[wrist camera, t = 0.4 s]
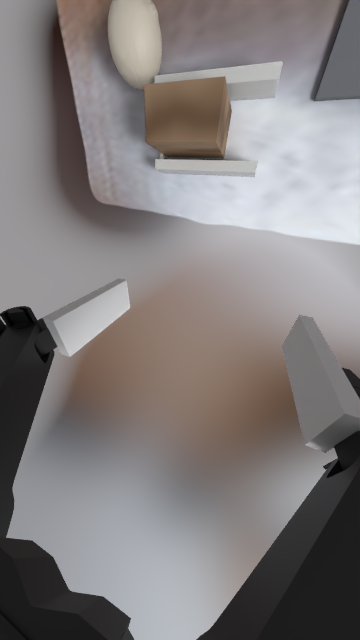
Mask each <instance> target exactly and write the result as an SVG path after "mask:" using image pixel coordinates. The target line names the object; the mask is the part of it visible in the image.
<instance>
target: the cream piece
mask: <svg viewBox="0 0 360 640" xmlns="http://www.w3.org/2000/svg"><path fill="white" fill-rule="evenodd" d="M108 40H109V46H110V50H111V54H112V58H113V60H114V63H115V65H116V67H117V69H118V71H119V73H120V74H121V76H122V77H123V78H124V80H125V81H126V82H127V83H128V84H130V85H131V86H132V87H134V88H136V89H140V90H144V84H153V83H154V82H155V76H156V75H158V73H159V70H160V65H161V59H162V38H161V31H160V26H159V22H158V12H157V10H156V7H155V5H154V4H153V2H152V1H151V0H112V3H111V6H110V10H109V15H108Z"/></svg>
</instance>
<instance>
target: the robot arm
mask: <svg viewBox="0 0 360 640" xmlns="http://www.w3.org/2000/svg"><path fill="white" fill-rule="evenodd" d="M128 309H130V303H129V295H128V288H127V281H126V280H124V279H117V280H115V281H113V282H111V283H109V284H107V285H105V286H103V287H102V288H99V289H98V290H96V291H94V292H92V293H90V294H88V295H86V296H84V297H82V298H80V299H78V300H76V301H74V302H72V303H70V304H68V305H67V306H65V307H63V308H61V309H59V310H57V311H55V312H53V313H51V314H49V315H47V316H45V317H43V318H41V319H39V320H37V319H36V317H35V316H34V314H33V312H32V310H31V308H29V307H26V306H20V307H14V308H11V309H8V310H6V311H3V312H2V313H1V314H0V316H1V317H2V319H3V320H4V321H5V323H6V324H7V325H4V323H3V322H2V320H1V319H0V640H134V638H133V636H132V635H131V633H130V631H129V629H128V627H129V623H130V620H131V618H130V617H128V616H127V615H126V614H125V613H123V612H122V611H121V610H119V609H118V608H117V607H116V606H114V605H113V604H112V603H111V602H109V601H108V600H107V599H105V598H104V597H102V596H96V595H89V594H82V593H76V592H72V591H70V590H69V589H68V587H67V585H66V583H65V581H64V579H63V577H62V574H61V572H60V570H59V568H58V566H57V564H56V562H55V560H54V558H53V557H52V556H51V555H50V554H49V553H47V552H46V551H45V550H43V549H42V548H41V547H40V546H38V545H37V544H36V543H34V542H33V541H30V540H21V539H12V538H6V535H7V532H8V529H9V525H10V521H11V518H12V514H13V510H14V497H13V492H12V487H13V482H14V479H15V476H16V473H17V469H18V466H19V463H20V460H21V457H22V454H23V451H24V448H25V445H26V441H27V438H28V435H29V432H30V429H31V426H32V423H33V420H34V416H35V413H36V410H37V407H38V404H39V401H40V398H41V394H42V392H43V389H44V385H45V382H46V379H47V376H48V373H49V369H50V367H51V364H52V360H53V357H54V351H53V349H55V348H56V347H58V349H59V351H60V353H61V354H64V355H66V356H69V357H71V356H72V355H73V354H74V353H75V352H77V351H78V350H79V349H80V348H81V347H83V346H84V345H85V344H87V343H88V342H89V341H90V340H91V339H93V338H94V337H95V336H96V335H98V334H99V333H100V332H101V331H103V330H104V329H105V328H106V327H107V326H109V325H110V324H111V323H112V322H114V321H115V320H116V319H117V318H118V317H120V316H121V315H122V314H123V313H125V312H126V311H127V310H128ZM282 348H283V353H284V357H285V361H286V365H287V370H288V374H289V378H290V383H291V387H292V391H293V396H294V400H295V404H296V408H297V413H298V417H299V421H300V426H301V430H302V434H303V439H304V443H305V445H306V446H309V447H312V448H315V449H317V450H320V451H322V452H325V453H326V452H327V451H329V450H330V449H332V448H335V451H336V453H337V456H338V458H337V459H335V460H334V461H332V462H330V463H328V464H327V465H325V466H323V467H324V468H325V469H327V470H326V471H325V473H324V474H323V476H322V477H321V478H320V480H319V481H318V482H317V484H316V485H315V486H314V488H313V489H312V491H311V492H310V493H309V495H308V496H307V498H306V499H305V500H304V502H303V503H302V504H301V506H300V507H299V509H298V510H297V511H296V513H295V514H294V515H293V517H292V518H291V520H290V521H289V522H288V524H287V525H286V526H285V528H284V529H283V530H282V532H281V533H280V535H279V536H278V537H277V539H276V540H275V541H274V543H273V544H272V545H271V547H270V548H269V550H268V551H267V552H266V554H265V555H264V557H263V558H262V559H261V561H260V562H259V563H258V565H257V566H256V567H255V569H254V570H253V572H252V573H251V574H250V576H249V577H248V578H247V580H246V581H245V583H244V584H243V585H242V587H241V588H240V590H239V591H238V592H237V594H236V595H235V596H234V598H233V599H232V600H231V602H230V603H229V605H228V606H227V607H226V609H225V610H224V611H223V613H222V614H221V615H220V617H219V618H218V620H217V621H216V622H215V623H214V625H213V626H212V627H211V628H210V629H209V630H208V631H207V632H205V633H204V634H203V635H201V636H200V637H199V638H198V639H197V640H360V379H359V378H358V377H357V376H356V375H355V374H354V373H353V372H352V371H351V370H349V369H344V368H341V366H340V364H339V363H338V361H337V359H336V357H335V356H334V354H333V352H332V351H331V349H330V347H329V345H328V344H327V342H326V340H325V338H324V337H323V335H322V333H321V331H320V330H319V328H318V326H317V325H316V323H315V321H314V319H313V318H311V317H307V316H302V315H299V316H298V318H297V320H296V322H295V323H294V325H293V327H292V329H291V330H290V332H289V334H288V336H287V338H286V339H285V341H284V343H283V345H282Z"/></svg>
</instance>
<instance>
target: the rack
mask: <svg viewBox="0 0 360 640" xmlns="http://www.w3.org/2000/svg"><path fill="white" fill-rule="evenodd" d="M282 64H283V61H280V62H271V63H262V64H254V65H245V66H236V67H227V68H218V69H209V70H201V71H192V72H183V73H174V74H165V75H156V76H155V83H163V82H173V81H183V80H193V79H203V78H213V77H223V76H225V77H226V83H227V88H228V94H229V99H230V101H231V100H247V99H262V98H275V94H276V90H277V86H278V82H279V77H280V73H281V68H282ZM257 164H258V161H227V160H176V159H165V155H164V154H162V153H161V152H160V159H155V169H157V170H159V171H161V172H163V173H169V174H193V175H217V176H241V177H255V173H256V169H257Z"/></svg>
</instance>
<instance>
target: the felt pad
mask: <svg viewBox="0 0 360 640" xmlns="http://www.w3.org/2000/svg"><path fill="white" fill-rule="evenodd" d="M359 98H360V0H349V1H348V4H347V7H346V10H345V13H344V16H343V19H342V21H341V24H340V27H339V30H338V33H337V36H336V39H335V42H334V45H333V48H332V51H331V54H330V56H329V59H328V62H327V65H326V68H325V71H324V74H323V77H322V80H321V83H320V86H319V89H318V92H317V94H316V97H315V100H314V101H324V100H342V99H359Z"/></svg>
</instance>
